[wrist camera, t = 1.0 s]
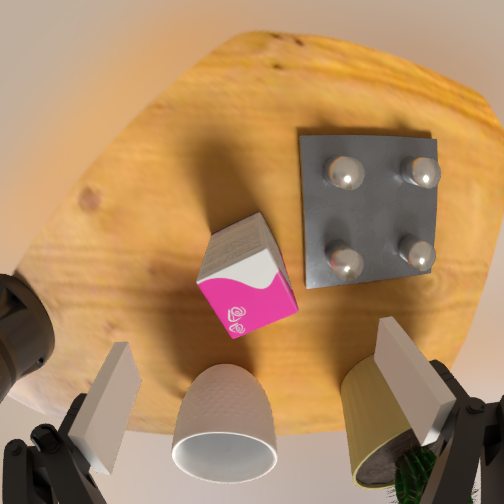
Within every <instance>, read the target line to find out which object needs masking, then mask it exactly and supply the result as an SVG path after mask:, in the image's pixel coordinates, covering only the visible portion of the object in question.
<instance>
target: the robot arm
mask: <svg viewBox="0 0 504 504" xmlns="http://www.w3.org/2000/svg"><path fill="white" fill-rule="evenodd" d="M54 345H55V339H54V332H53V328H52V325H51V322H50V320H49V317H48V315H47V313H46V311H45V309H44V308H43V306H42V304H41V303H40V301H39V300H38V299H37V297H36V296H35V295H34V294H33V293H32V291H31V290H30V289H29V288H28V287H27V286H25V285H24V284H23V283H22V282H20V281H19V280H18V279H16V278H14V277H12V276H10V275H6V274H0V403H1V401H2V400H3V399H4V397H5V396H6V395H7V393H8V392H9V390H10V389H11V387H12V386H13V385H14V384H15V382H16V381H17V380H19V379H21V378H23V377H25V376H26V375H28V374H30V373H32V372H34V371H36V370H38V369H39V368H41V367H42V366H43V365H44V364H45V363H46V362H47V360H48V359H49V358H50V356H51V355H52V353H53V350H54ZM374 361H375V363H376V364H377V366H378V368H379V369H380V371H381V373H382V375H383V376H384V378H385V380H386V382H387V384H388V385H389V387H390V389H391V391H392V392H393V394H394V396H395V398H396V400H397V401H398V403H399V405H400V407H401V409H402V411H403V412H404V414H405V416H406V418H407V420H408V422H409V423H410V425H411V427H412V429H413V431H414V433H415V435H416V437H417V439H418V440H419V442H420V444H421V446H424V445H427V444H429V443H432V442H435V441H436V440H437V438H438V436H439V434H440V433H441V434H442V436H443V438H444V439H443V441H442V443H441V445H440V446H439V448H438V450H437V452H439V453H438V456H437V459H436V462H435V465H434V467H433V470H432V473H431V476H430V478H429V481H428V484H427V486H426V489H425V491H424V494H423V496H422V499H421V501H420V503H419V504H468V502H469V499H470V496H471V492H472V488H473V485H474V481H475V477H476V473H477V468H478V463H479V459H480V464H481V504H504V395H503V396H502V398H501V400H500V402H495V403H487V404H485V403H484V402H483V401H482V400H481V399H478V398H475V397H469V395H468V394H467V393H466V392H465V390H464V389H463V388H462V386H461V385H460V384H459V382H458V381H457V380H456V379H455V378H454V376H453V375H452V374H451V373H450V371H449V370H448V369H447V367H446V366H445V365H444V364H443V363H441V362H439V361H438V360H432V361H428V360H427V359H426V358H425V356H424V355H423V354H422V352H421V351H420V350H419V349H418V347H417V346H416V345H415V344H414V342H413V341H412V340H411V339H410V337H409V336H408V335H407V334H406V332H405V331H404V330H403V329H402V327H401V326H400V325H399V324H398V323H397V321H396V320H395V319H394V318H393V316H390V317H385V318H380V319H379V327H378V334H377V341H376V348H375V354H374ZM141 382H142V380H141V377H140V375H139V372H138V369H137V367H136V364H135V361H134V358H133V355H132V352H131V349H130V347H129V344H128V342H115V343H114V345H113V347H112V349H111V351H110V353H109V354H108V356H107V358H106V360H105V362H104V364H103V365H102V367H101V369H100V371H99V373H98V375H97V377H96V379H95V381H94V383H93V384H92V386H91V388H90V390H89V392H88V394H85V393H81V394H80V395H79V396H77V397H76V398H75V399H74V401H73V402H72V404H71V406H70V409H69V410H68V412H67V415H66V416H65V418H64V420H63V422H62V424H61V426H60V428H59V430H58V432H57V430H56V429H55V427H54V426H53V425H51V424H41V425H39V426H37V427H35V429H34V430H33V431H32V433H31V435H30V437H31V441H32V442H33V443H34V445H35V446H27V445H26V444H25V442H24V441H23V440H21V439H14V440H11V441H10V442H9V443H7V445H6V446H5V449H4V459H3V484H2V485H3V486H2V488H3V490H2V496H3V497H2V499H3V504H58V502H59V504H107V503H106V501H105V499H104V498H103V496H102V494H101V492H100V491H99V489H98V487H97V485H96V484H95V482H94V480H93V478H92V476H91V474H90V473H89V469H90V466H91V467H92V468H93V469H94V470H95V471H96V472H97V473H102V474H108V475H111V474H112V471H113V467H114V464H115V461H116V457H117V454H118V451H119V448H120V445H121V441H122V438H123V435H124V432H125V429H126V426H127V423H128V420H129V417H130V414H131V411H132V408H133V405H134V402H135V399H136V396H137V393H138V391H139V388H140V385H141Z"/></svg>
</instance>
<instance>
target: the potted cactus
mask: <svg viewBox="0 0 504 504" xmlns="http://www.w3.org/2000/svg"><path fill="white" fill-rule="evenodd" d="M341 399H342V406H343V412H344V419H345V425H346V432H347V438H348V446H349V455H350V463H351V472H352V476H353V482H354V483H355V485H356V486H358V487H359V488H363V489H372V490H373V489H374V490H375V489H383V488H388V487H392V486H393V487H394V486H395V489H396V490H395V491H396V496H397V499H398V501H399V503H398V504H419V503H420V501H421V499H422V496H423V494H424V491H425V489H426V486H427V484H428V481H429V478H430V476H431V473H432V470H433V467H434V465H435V462H436V459H437V456H438V453H439V452H437V450H438V448H439V446H440V445H441V443H442V441H443V439H444V438H443V436H442V434H441V433H440V434H439V436H438V438H437V440H436V441H435V442H432V443H429V444H427V445H424V446H421V444H420V442H419V440H418V439H417V437H416V435H415V433H414V431H413V429H412V427H411V425H410V423H409V422H408V420H407V418H406V416H405V414H404V412H403V411H402V409H401V407H400V405H399V403H398V401H397V400H396V398H395V396H394V394H393V392H392V391H391V389H390V387H389V385H388V384H387V382H386V380H385V378H384V376H383V375H382V373H381V371H380V369H379V368H378V366H377V364H376V363H375V361H374V354H373V355H371V356H369V357H367V358H365V359H363V360H362V361H360V362H359V363H357V364H356V365H355V366H354V367H353V368H352V369H351V370H350V371H349V372H348V373H347V375H346V376H345V378H344V380H343V382H342V385H341ZM476 492H477V491H475V492H473V494H474V493H476ZM471 495H472V493H471ZM468 504H473V499H472V498H471V496H470V499H469V502H468Z"/></svg>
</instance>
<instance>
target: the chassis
mask: <svg viewBox="0 0 504 504" xmlns="http://www.w3.org/2000/svg"><path fill="white" fill-rule="evenodd" d="M298 140H299V154H300V170H301V188H302V209H303V234H304V271H305V287H306V289H310V288H319V287H328V286H337V285H346V284H354V283H362V282H370V281H378V280H385V279H393V278H400V277H407V276H414V275H421V274H428V273H431V267H432V265H433V263H434V261H435V258H436V251H435V249H434V239H435V227H436V212H437V185H438V183H439V181H440V177H441V170H440V167H439V164H438V157H437V139H429V138H416V137H400V136H377V135H304V136H298Z"/></svg>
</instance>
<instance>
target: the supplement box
mask: <svg viewBox="0 0 504 504" xmlns="http://www.w3.org/2000/svg"><path fill="white" fill-rule="evenodd" d="M196 283H197V284H198V286H199V288H200V289H201V291H202V293H203V294H204V296H205V297H206V299H207V301H208V302H209V304H210V305H211V307H212V309H213V310H214V312H215V313H216V315H217V316H218V318H219V320H220V321H221V323H222V324H223V325H224V327H225V329H226V330H227V332H228V333H229V335H230V336H231V338H232V339H234V338H237V337H240V336H242V335H245V334H247V333H249V332H252V331H254V330H256V329H258V328H261V327H263V326H265V325H268V324H270V323H273V322H275V321H278V320H280V319H283V318H285V317H287V316H290V315H292V314H294V313H297V312H298V306H297V303H296V299H295V296H294V293H293V290H292V286H291V283H290V280H289V277H288V274H287V270H286V267H285V264H284V261H283V257H282V254H281V252H280V249H279V247H278V245H277V243H276V241H275V239H274V237H273V235H272V233H271V231H270V229H269V227H268V225H267V223H266V221H265V219H264V217H263V215H262V213H261V212H260V211H259V212H257V213H254V214H252V215H250V216H248V217H246V218H244V219H242V220H240V221H238V222H236V223H234V224H232V225H230V226H228V227H226V228H223V229H222V230H219V231H217V232H215V233H213V234H212V235H211V238H210V241H209V244H208V247H207V250H206V253H205V256H204V259H203V262H202V265H201V268H200V271H199V274H198V277H197V280H196Z"/></svg>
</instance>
